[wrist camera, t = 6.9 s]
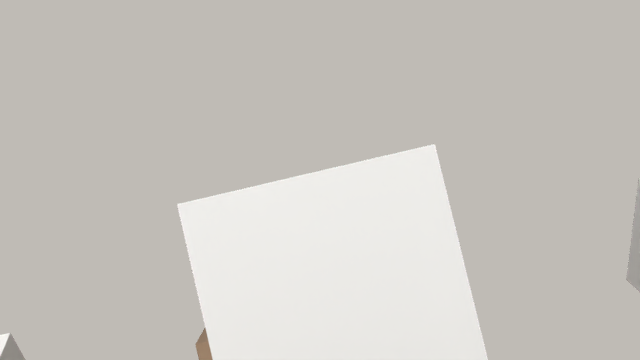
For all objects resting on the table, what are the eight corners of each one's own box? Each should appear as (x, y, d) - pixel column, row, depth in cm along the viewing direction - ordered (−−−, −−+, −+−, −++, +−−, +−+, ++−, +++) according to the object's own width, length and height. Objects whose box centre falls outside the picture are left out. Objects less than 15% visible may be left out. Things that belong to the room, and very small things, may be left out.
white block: (231, 442, 9) (177, 204, 10) (258, 275, 34) (243, 210, 34) (490, 370, 10) (434, 143, 10) (331, 257, 35) (316, 193, 35)
